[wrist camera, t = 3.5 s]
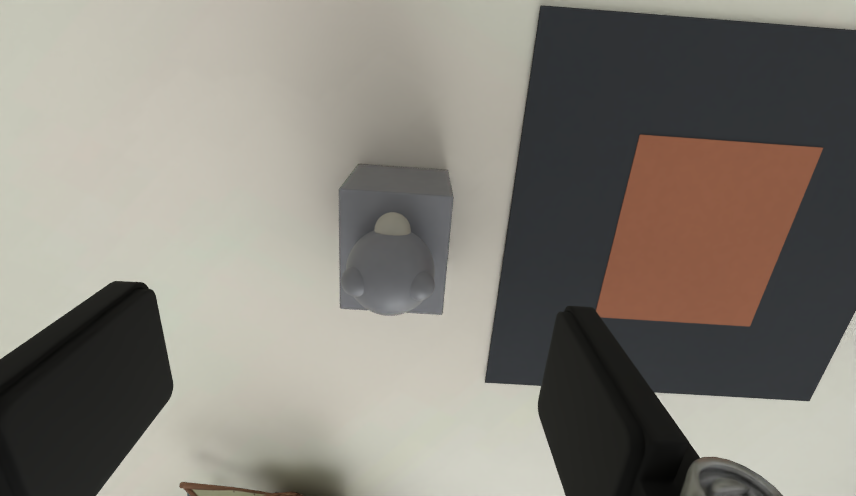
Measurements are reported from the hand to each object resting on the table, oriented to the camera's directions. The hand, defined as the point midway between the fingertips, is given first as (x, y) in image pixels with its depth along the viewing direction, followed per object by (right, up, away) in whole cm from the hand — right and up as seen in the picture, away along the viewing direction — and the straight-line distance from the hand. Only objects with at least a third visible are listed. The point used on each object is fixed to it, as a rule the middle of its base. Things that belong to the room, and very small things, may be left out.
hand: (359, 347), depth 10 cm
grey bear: (0, +4, +10) cm, 10 cm away
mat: (+14, +3, +10) cm, 18 cm away
